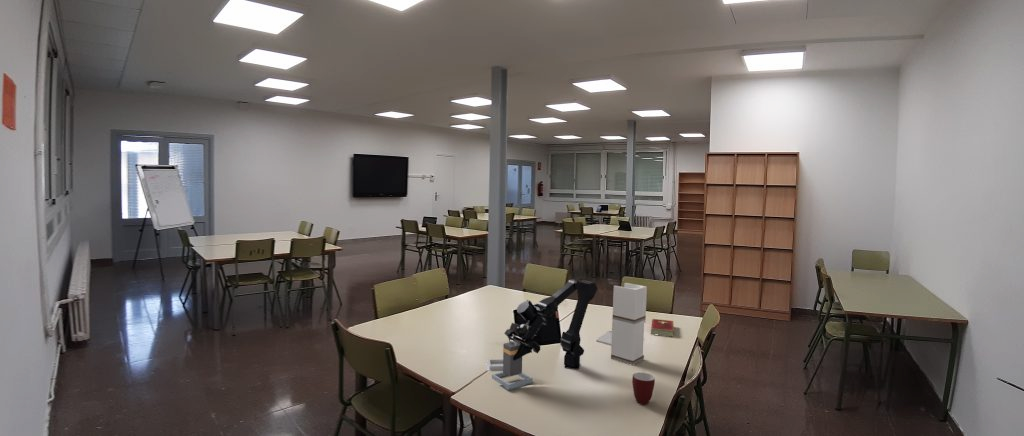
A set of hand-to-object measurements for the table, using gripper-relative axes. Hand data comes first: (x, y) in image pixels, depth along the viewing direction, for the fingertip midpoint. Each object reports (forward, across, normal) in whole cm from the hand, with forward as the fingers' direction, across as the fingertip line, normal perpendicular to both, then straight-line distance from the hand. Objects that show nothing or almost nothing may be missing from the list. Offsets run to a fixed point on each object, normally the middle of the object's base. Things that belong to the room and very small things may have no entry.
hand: (510, 357), depth 193 cm
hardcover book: (-73, -13, +90) cm, 117 cm away
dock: (+4, -15, +11) cm, 19 cm away
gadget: (-49, -14, +66) cm, 84 cm away
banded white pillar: (-37, +7, +52) cm, 64 cm away
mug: (-16, +40, +32) cm, 54 cm away
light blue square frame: (+7, 0, +8) cm, 11 cm away
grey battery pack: (+4, 0, +6) cm, 7 cm away
